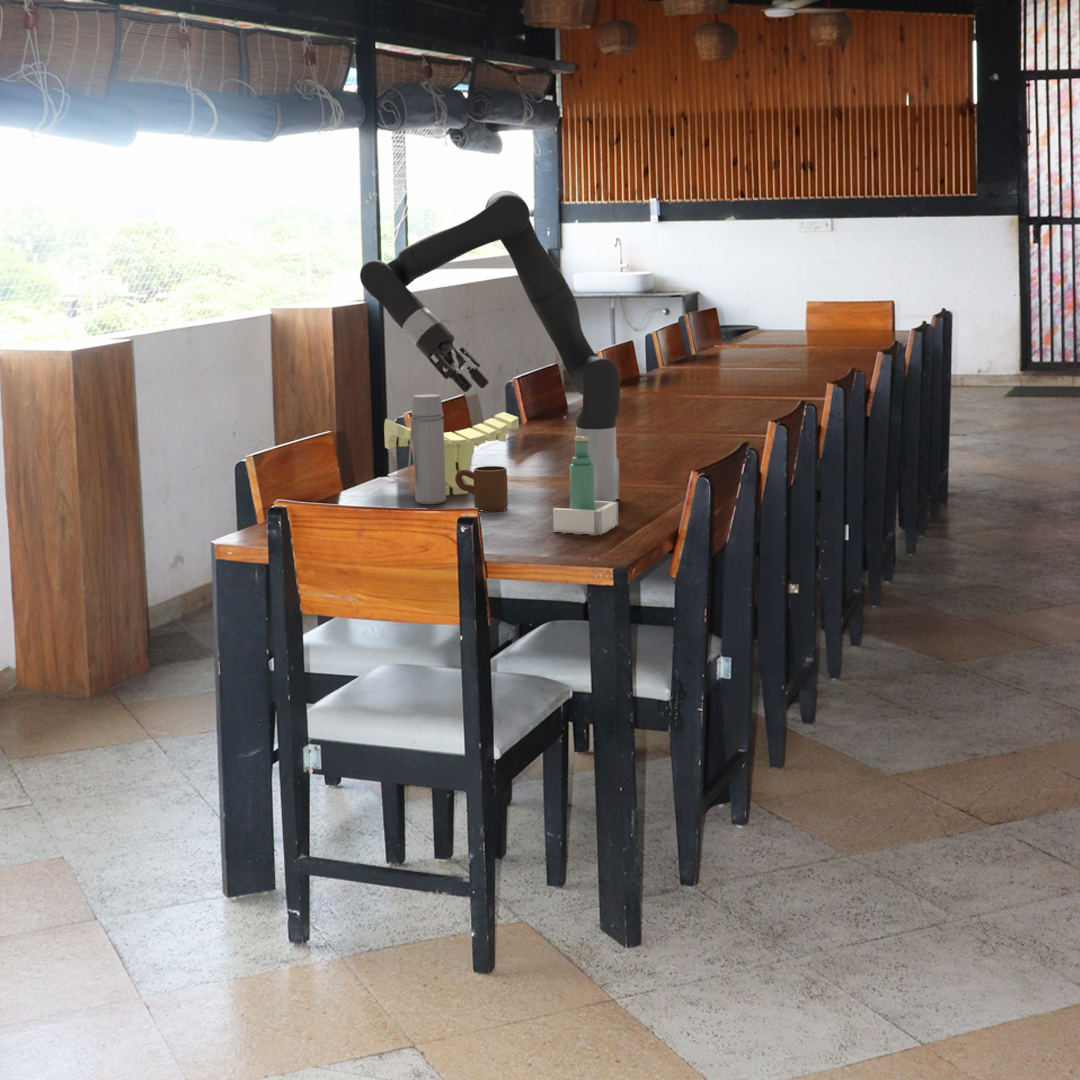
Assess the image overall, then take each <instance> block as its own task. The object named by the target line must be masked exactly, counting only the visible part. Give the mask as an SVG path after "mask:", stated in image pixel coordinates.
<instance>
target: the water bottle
mask: <svg viewBox="0 0 1080 1080" xmlns="http://www.w3.org/2000/svg"><path fill="white" fill-rule="evenodd" d="M411 398H412V399H411V417H409V419H408V420H409V424H410V428H411V432H410V446H409V450H408V463H407V464H408V465H407V477H408V482H409V484H410V485H414V492H415V493H414V495H415V496H414V498H415V501H416V502H417V503H418V504H420V505H438V504H442V503H444V502H445V501H446V500H447V495H446V484H445V454H444V433H445V432H444V429H445V428H444V419H443V417H444V415H445V414H444V411H443V405H442V403H443V402H442V396H441V394H435V393H431V394H426V393H425V394H424V393H423V394H415V395H412V397H411ZM411 444H412V445H413V447H411ZM411 457H412V458H413V459H412V458H411ZM411 459H412V461H413V476H414V478H413V480H412V481H411Z"/></svg>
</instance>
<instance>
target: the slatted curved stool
mask: <svg viewBox="0 0 1080 1080" xmlns="http://www.w3.org/2000/svg"><path fill="white" fill-rule="evenodd" d="M519 421H520V420H519V416H516V415H514V414H510V413H507V412H505V411H503V412H499V413H497V414H495V415H494V416H493V418H492V417H490V418H489V419H486V420H483V422H482V423H480V422H479V423H477V424H475V425H472V428H471V427H468V428H465V429H460V430H454V432H452V431H449V432H444V454H445V484H446V496H450V495H464V494H465V495H467V494H471V493H470V492H468V491H464V490H462V489H460V488H459V487H458V486H457V484H456V480H455V477H456V474H457V472H458V471H460V470H462V469H468V470H470V471H471V467H470V464H471V460H472V458H473V455H474V453H475V446H476V447H479V446H480V445H482V444H485V443H486V441H487V442H495V441H498V442H503V443H506V442H507V441H506V440H507V434H508V433H509V431H508V430H519V428H520V425H519ZM383 430H384V431H383V432H384V433H383V434H384V448H385V449H387V450H391V449H395V448H397V446H398V447H399V448H401V447H408V446H409V447H410V432H411V427H406V426H404V425H402V424H399V423H396V422H394V421H392V420H390V419H388V418H385V420H384V425H383ZM411 448H413V445H412V444H411ZM462 480H463V482H464V483H465V484H471V485H473V486H474V479H472V478H469V477H467V476H462Z"/></svg>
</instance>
